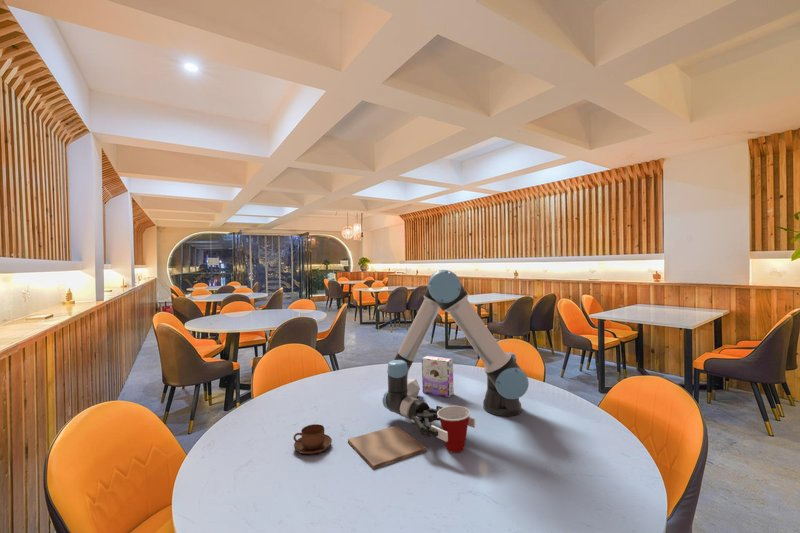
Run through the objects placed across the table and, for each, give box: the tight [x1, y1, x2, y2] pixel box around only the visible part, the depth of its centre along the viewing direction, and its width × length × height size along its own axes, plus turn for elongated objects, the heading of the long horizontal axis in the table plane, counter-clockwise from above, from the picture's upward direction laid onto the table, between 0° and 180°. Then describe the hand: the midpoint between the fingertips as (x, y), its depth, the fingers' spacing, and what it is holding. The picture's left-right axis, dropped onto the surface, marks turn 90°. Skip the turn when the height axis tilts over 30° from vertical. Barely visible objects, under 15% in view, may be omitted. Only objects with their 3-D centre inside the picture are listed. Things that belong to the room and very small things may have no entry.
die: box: [407, 378, 421, 399], centre depth 160 cm, size 8×9×10 cm
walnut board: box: [347, 425, 427, 470], centre depth 115 cm, size 19×19×1 cm
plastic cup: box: [437, 405, 471, 454], centre depth 114 cm, size 11×11×12 cm
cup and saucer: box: [293, 423, 333, 455], centre depth 115 cm, size 12×12×6 cm
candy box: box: [421, 355, 455, 398], centre depth 164 cm, size 14×6×16 cm, turn 58°
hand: (461, 429), depth 111 cm, fingers open, 13 cm apart
